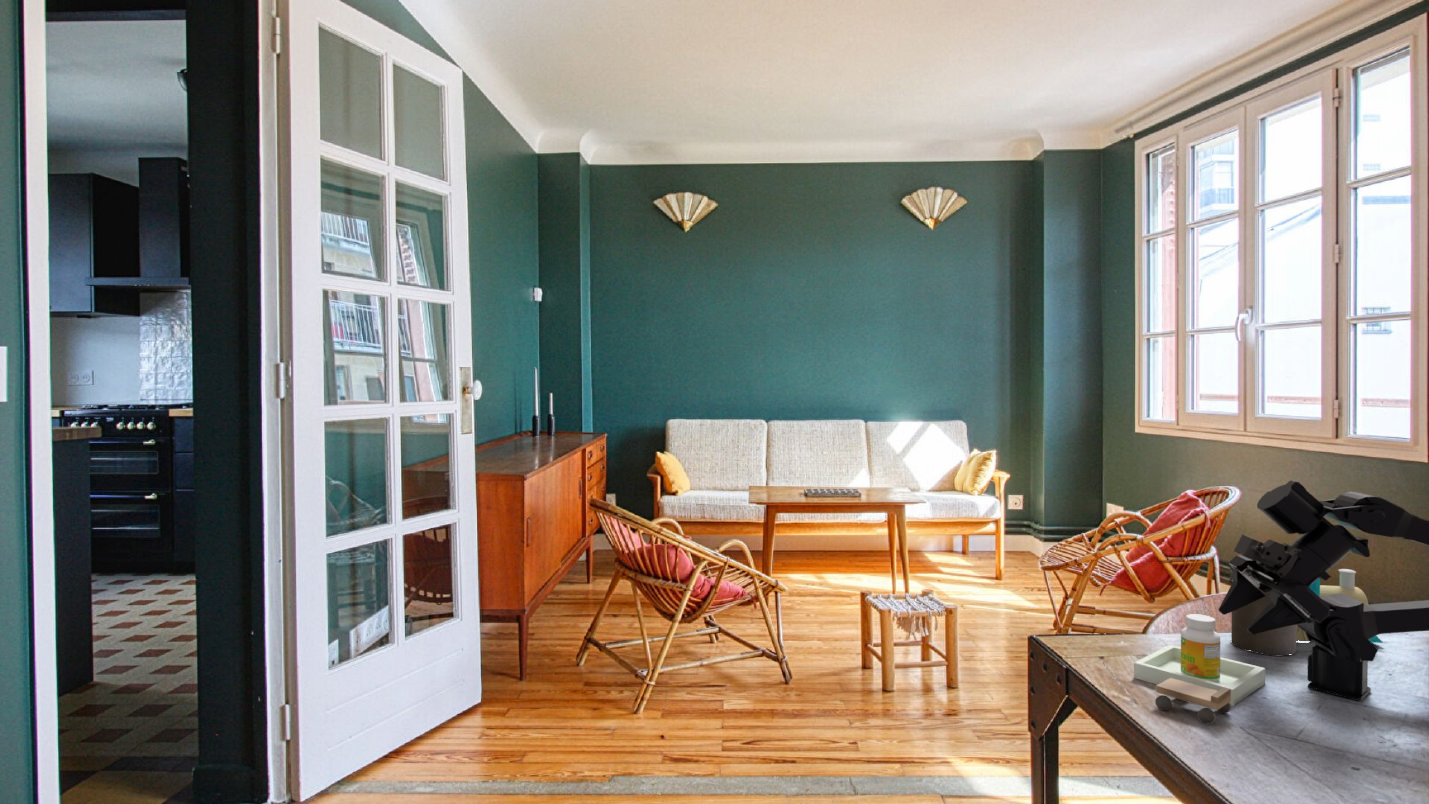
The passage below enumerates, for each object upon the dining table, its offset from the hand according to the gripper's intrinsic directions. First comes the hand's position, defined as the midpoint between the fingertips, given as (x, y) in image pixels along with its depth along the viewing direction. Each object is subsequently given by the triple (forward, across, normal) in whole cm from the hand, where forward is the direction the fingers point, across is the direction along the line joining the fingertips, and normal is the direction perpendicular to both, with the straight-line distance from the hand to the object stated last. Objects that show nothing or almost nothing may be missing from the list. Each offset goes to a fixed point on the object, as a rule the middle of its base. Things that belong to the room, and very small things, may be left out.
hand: (1234, 621), depth 120 cm
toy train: (-10, -26, +27) cm, 39 cm away
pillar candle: (-2, -19, +17) cm, 26 cm away
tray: (+11, 0, +3) cm, 11 cm away
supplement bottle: (+10, 0, +3) cm, 11 cm away
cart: (+15, +13, -2) cm, 20 cm away
